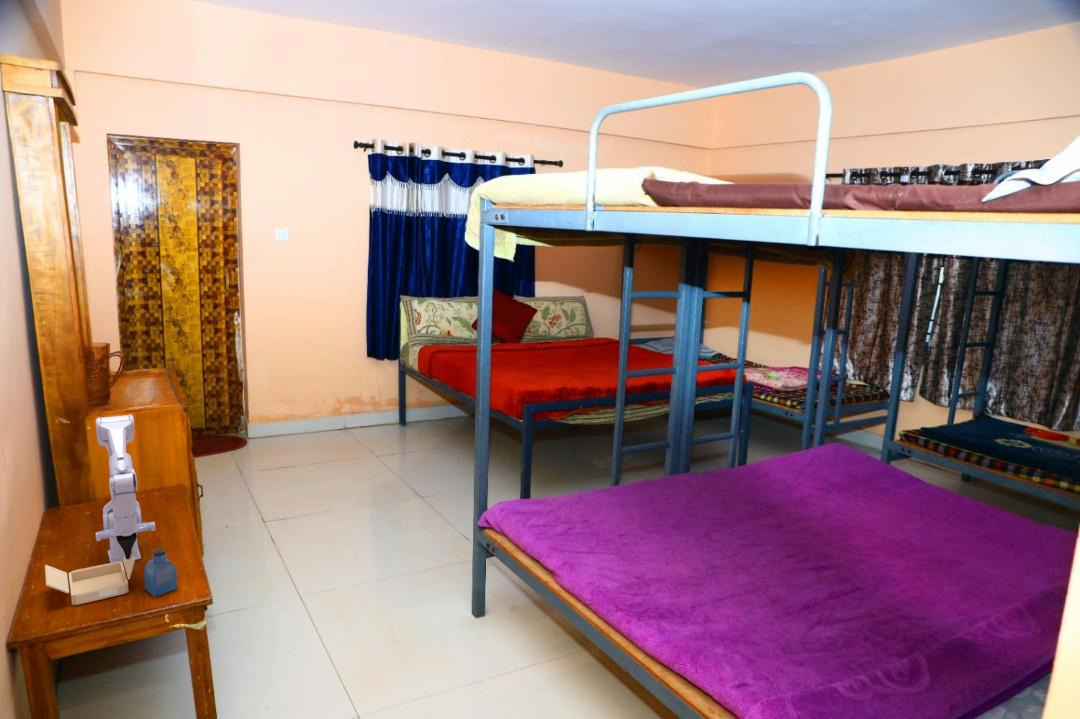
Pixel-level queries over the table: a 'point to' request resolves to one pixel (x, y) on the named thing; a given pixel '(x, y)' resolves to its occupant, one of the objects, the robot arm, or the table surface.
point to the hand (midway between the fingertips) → (127, 557)
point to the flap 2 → (129, 564)
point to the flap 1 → (56, 579)
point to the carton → (97, 582)
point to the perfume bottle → (160, 574)
